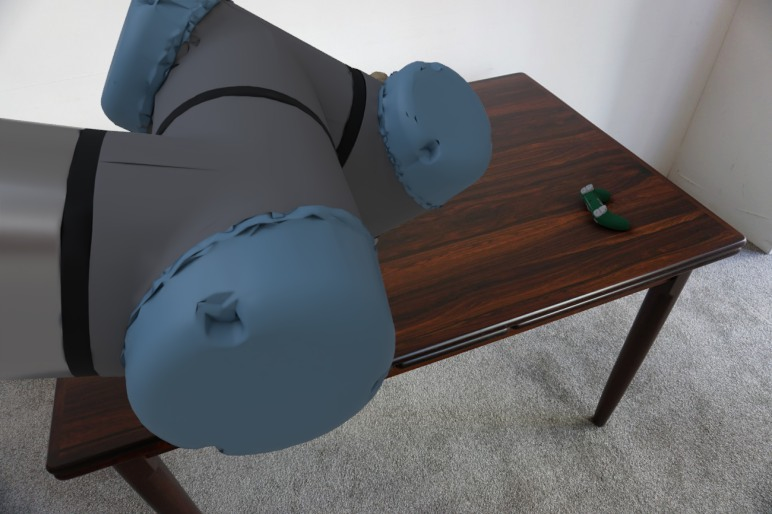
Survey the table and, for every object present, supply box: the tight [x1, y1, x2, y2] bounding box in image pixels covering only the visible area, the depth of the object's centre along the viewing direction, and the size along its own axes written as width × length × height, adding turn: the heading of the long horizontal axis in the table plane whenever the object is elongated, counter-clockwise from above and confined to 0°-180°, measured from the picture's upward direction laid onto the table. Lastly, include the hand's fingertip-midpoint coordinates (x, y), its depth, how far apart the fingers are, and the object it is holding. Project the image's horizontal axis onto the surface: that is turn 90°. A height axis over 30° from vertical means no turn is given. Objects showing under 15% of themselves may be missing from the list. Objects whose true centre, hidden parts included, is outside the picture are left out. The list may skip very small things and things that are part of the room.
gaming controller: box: [579, 183, 631, 231], centre depth 85 cm, size 9×4×6 cm
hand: (216, 284), depth 55 cm, fingers open, 13 cm apart
